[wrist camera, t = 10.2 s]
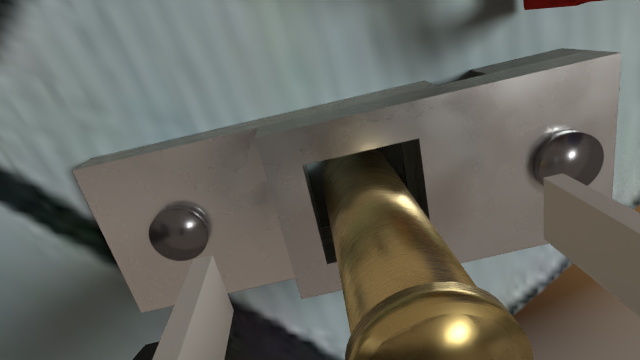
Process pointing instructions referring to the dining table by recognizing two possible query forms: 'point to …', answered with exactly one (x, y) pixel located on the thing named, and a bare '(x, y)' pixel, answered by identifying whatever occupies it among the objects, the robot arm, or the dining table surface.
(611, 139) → the slotted metal plate
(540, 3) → the mug
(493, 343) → the brass pin
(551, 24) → the dining table surface
